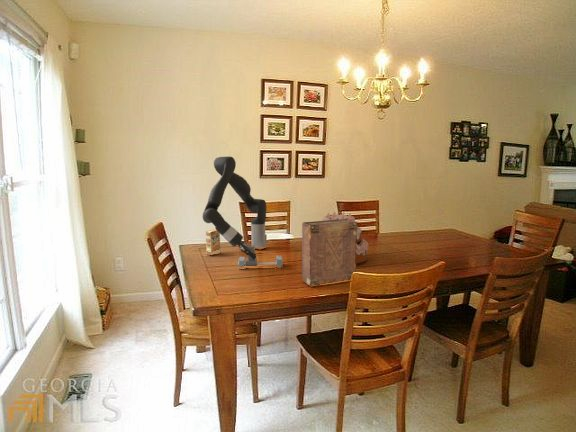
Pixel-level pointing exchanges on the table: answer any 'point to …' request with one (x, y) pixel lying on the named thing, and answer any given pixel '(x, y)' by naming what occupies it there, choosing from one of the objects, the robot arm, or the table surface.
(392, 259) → the table surface
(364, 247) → the cake
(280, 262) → the rail
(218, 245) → the candy box
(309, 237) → the book
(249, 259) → the block
